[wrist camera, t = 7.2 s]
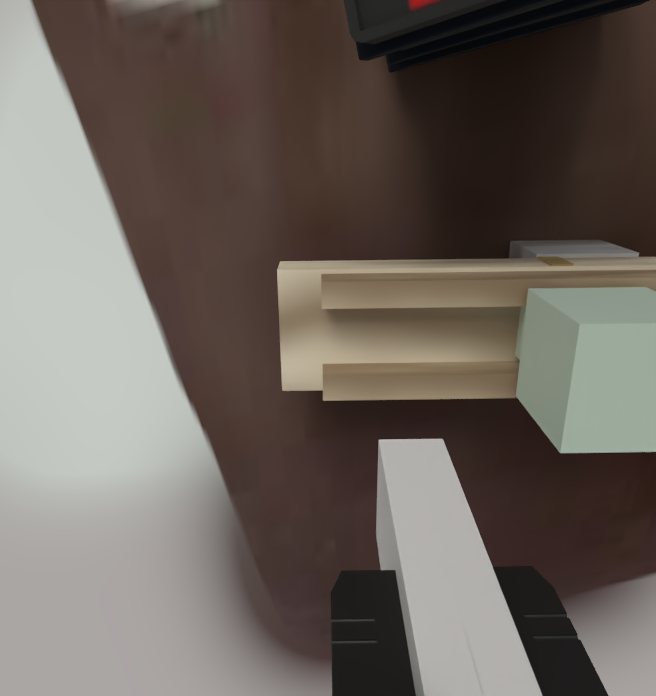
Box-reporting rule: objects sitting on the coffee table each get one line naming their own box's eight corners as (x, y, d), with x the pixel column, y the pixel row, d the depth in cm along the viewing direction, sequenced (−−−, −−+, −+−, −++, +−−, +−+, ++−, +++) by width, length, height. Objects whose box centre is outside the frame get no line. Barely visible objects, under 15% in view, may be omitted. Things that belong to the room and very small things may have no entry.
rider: (512, 277, 25) (579, 324, 19) (621, 276, 25) (726, 322, 19) (502, 378, 27) (560, 453, 20) (604, 377, 27) (694, 451, 21)
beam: (285, 243, 31) (274, 273, 24) (824, 236, 31) (975, 264, 24) (289, 351, 33) (279, 409, 26) (792, 345, 33) (921, 399, 26)
